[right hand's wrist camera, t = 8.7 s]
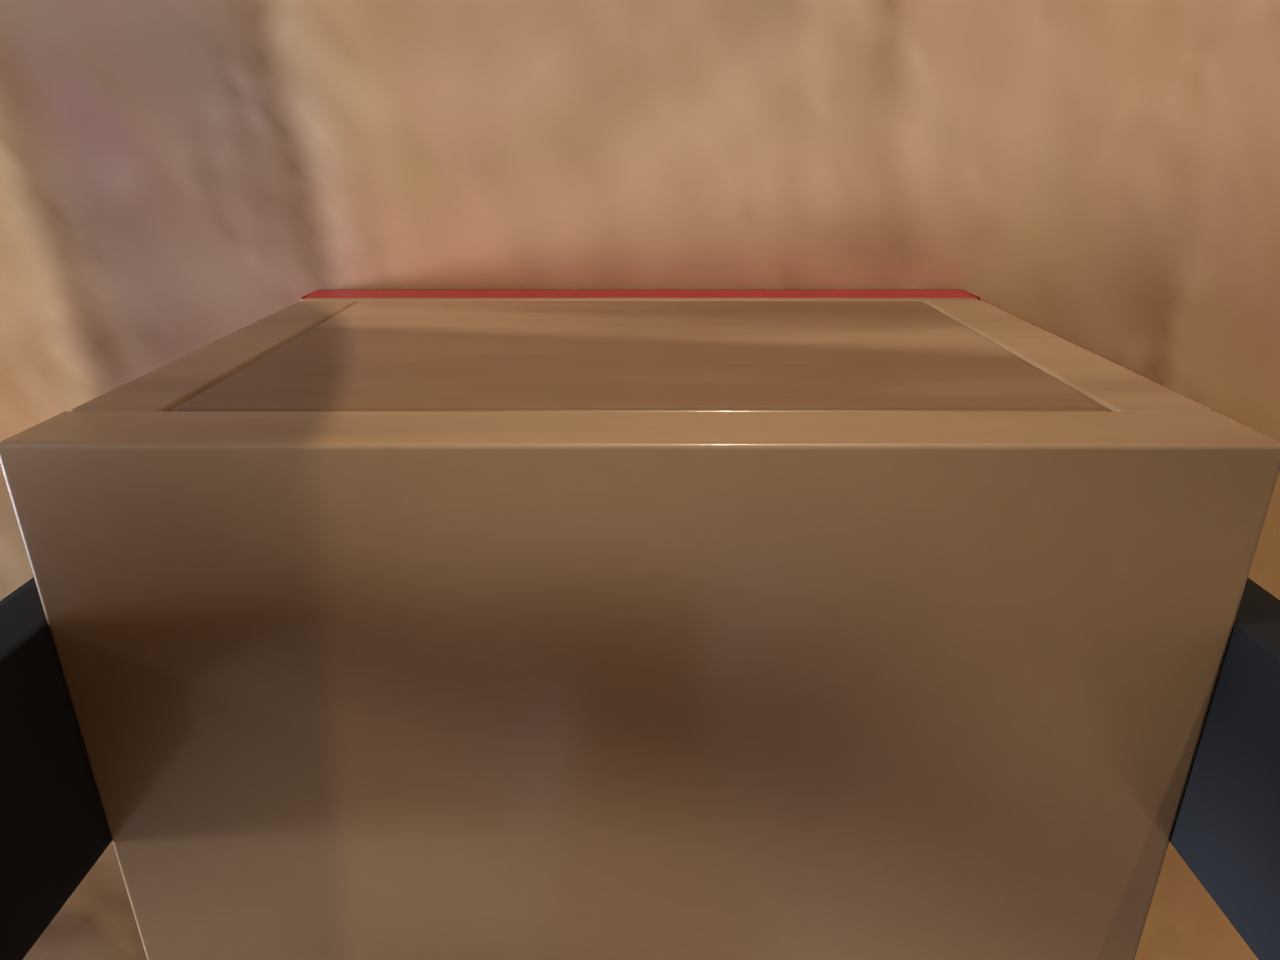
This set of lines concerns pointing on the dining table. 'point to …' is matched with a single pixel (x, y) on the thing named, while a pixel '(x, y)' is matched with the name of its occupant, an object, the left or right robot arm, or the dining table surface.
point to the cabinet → (640, 627)
